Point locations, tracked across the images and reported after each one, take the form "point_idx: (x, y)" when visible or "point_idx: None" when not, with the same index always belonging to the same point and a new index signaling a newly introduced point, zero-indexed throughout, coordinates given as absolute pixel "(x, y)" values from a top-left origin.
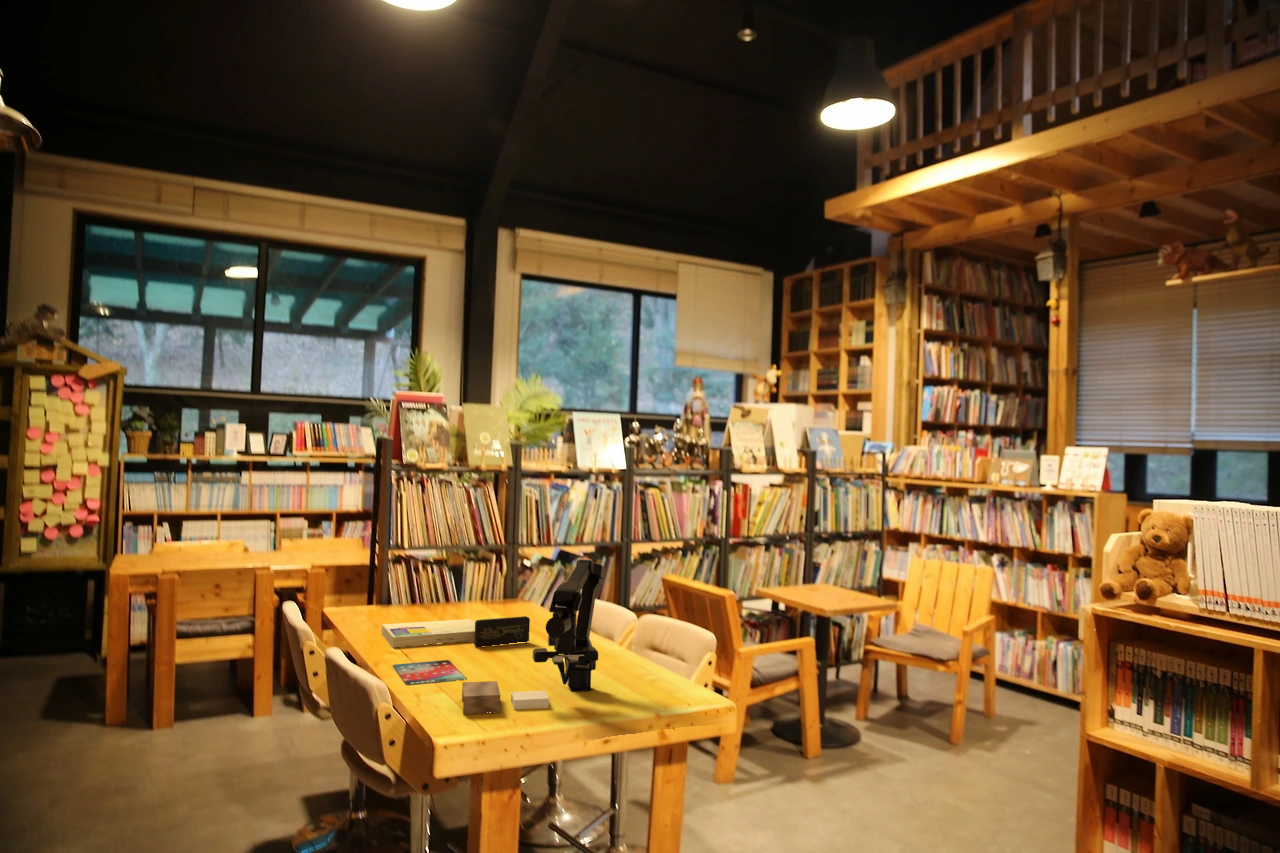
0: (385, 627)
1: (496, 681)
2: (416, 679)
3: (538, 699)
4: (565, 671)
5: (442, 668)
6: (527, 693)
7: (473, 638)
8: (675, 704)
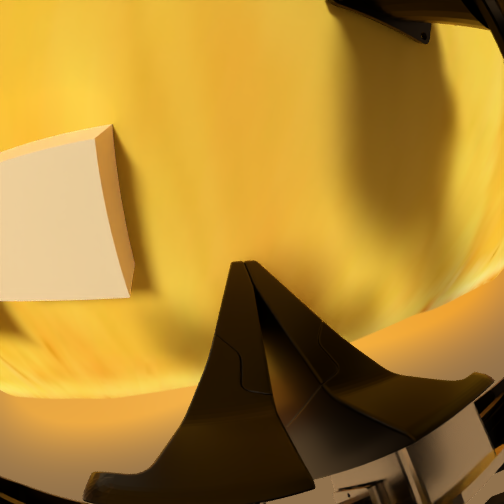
0: None
1: None
2: None
3: (79, 297)
4: (281, 344)
5: None
6: (3, 209)
7: None
8: (483, 254)
